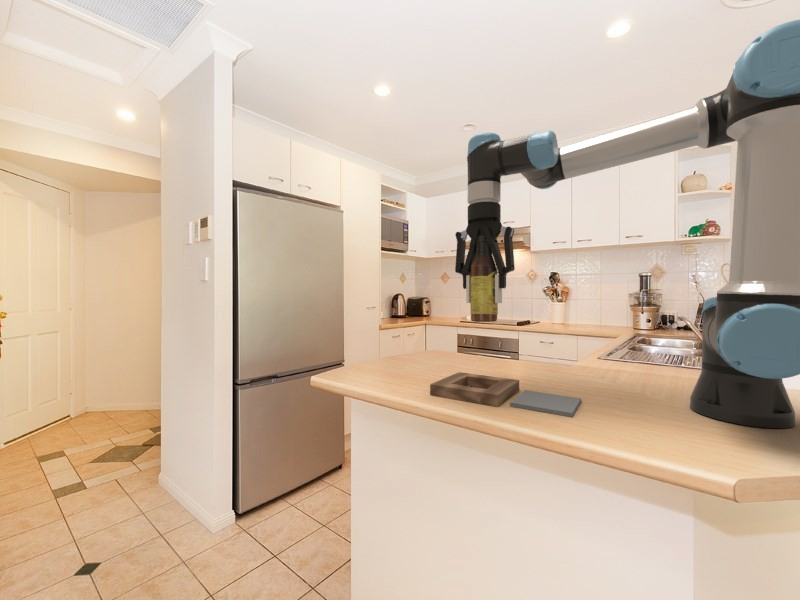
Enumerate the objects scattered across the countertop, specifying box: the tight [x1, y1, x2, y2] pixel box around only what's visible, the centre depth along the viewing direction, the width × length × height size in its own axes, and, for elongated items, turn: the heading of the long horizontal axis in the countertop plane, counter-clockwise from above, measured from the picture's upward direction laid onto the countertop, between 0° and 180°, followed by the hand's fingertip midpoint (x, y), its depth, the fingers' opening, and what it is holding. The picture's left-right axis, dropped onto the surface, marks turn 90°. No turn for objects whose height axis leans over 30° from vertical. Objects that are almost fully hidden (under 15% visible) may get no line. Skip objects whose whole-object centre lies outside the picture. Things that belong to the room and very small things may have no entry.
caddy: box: [429, 371, 520, 408], centre depth 88 cm, size 16×16×2 cm
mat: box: [509, 389, 582, 418], centre depth 79 cm, size 12×12×1 cm
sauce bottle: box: [469, 236, 499, 323], centre depth 86 cm, size 7×6×20 cm
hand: (484, 302), depth 87 cm, fingers closed on sauce bottle, 6 cm apart
